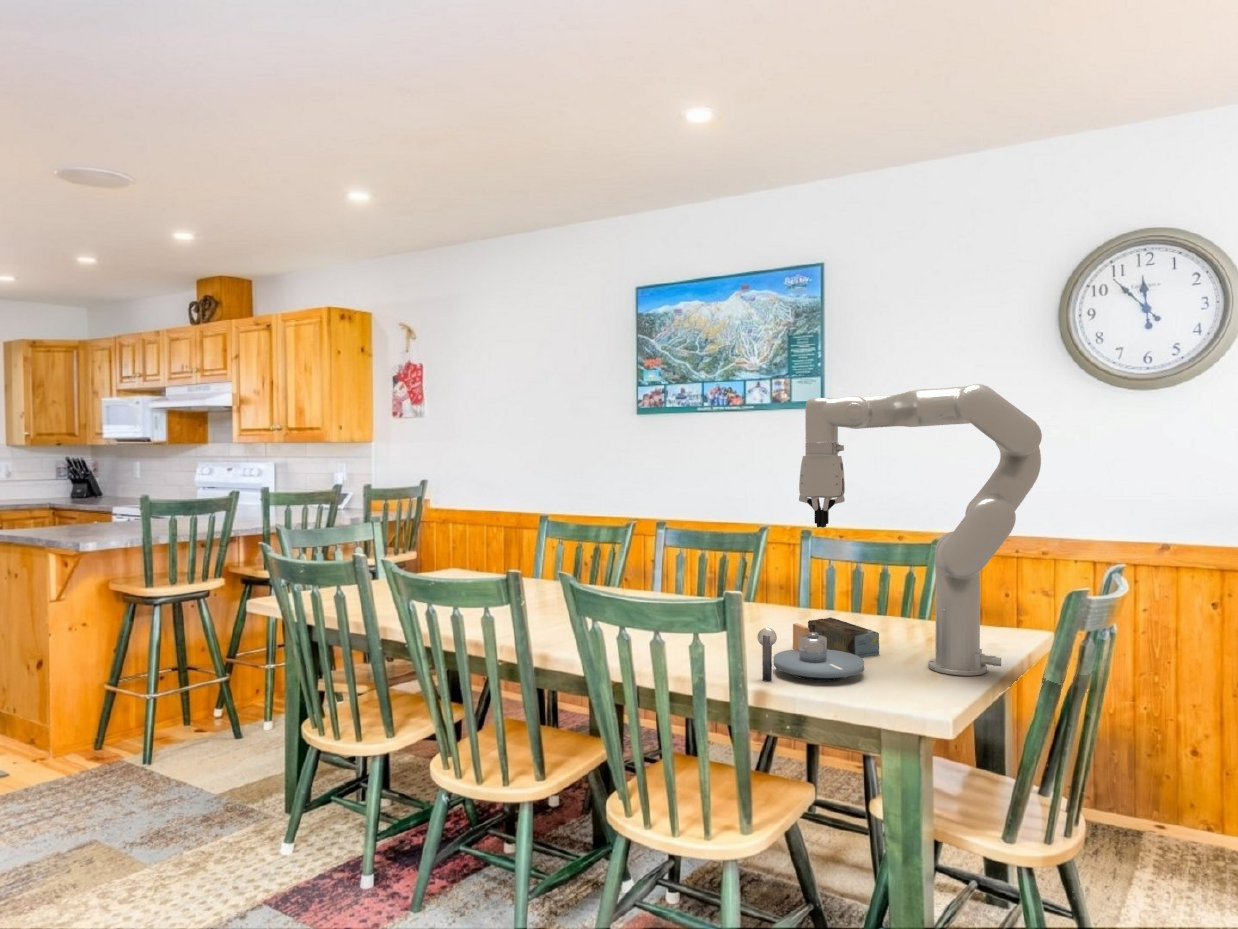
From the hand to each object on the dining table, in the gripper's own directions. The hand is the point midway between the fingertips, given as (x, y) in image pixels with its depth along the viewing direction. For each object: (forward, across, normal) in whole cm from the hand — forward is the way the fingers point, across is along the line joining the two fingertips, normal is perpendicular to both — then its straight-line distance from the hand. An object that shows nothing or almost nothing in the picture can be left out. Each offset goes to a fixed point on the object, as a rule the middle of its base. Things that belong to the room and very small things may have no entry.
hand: (821, 526), depth 206 cm
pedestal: (+32, -2, +12) cm, 34 cm away
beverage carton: (+33, -2, -14) cm, 36 cm away
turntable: (+30, -2, +12) cm, 33 cm away
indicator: (+32, +7, +22) cm, 40 cm away
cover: (+29, -1, +13) cm, 32 cm away
